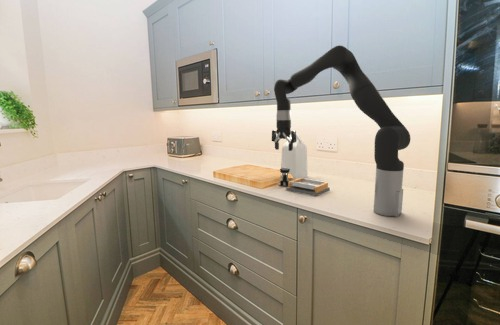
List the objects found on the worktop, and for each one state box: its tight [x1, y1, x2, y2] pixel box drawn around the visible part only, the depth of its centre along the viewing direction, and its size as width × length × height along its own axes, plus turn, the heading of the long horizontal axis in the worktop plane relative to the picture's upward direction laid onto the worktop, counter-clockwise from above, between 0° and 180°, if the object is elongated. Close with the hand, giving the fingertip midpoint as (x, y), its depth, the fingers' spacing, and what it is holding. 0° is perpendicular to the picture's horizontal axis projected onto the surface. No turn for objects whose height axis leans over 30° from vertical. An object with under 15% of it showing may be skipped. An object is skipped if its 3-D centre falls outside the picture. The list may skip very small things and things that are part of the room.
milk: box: [280, 134, 309, 181], centre depth 167 cm, size 12×12×26 cm
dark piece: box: [277, 167, 290, 187], centre depth 149 cm, size 7×5×10 cm
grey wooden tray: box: [291, 177, 326, 190], centre depth 139 cm, size 13×10×2 cm
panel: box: [285, 178, 331, 197], centre depth 139 cm, size 17×14×4 cm
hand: (283, 150), depth 146 cm, fingers open, 8 cm apart
